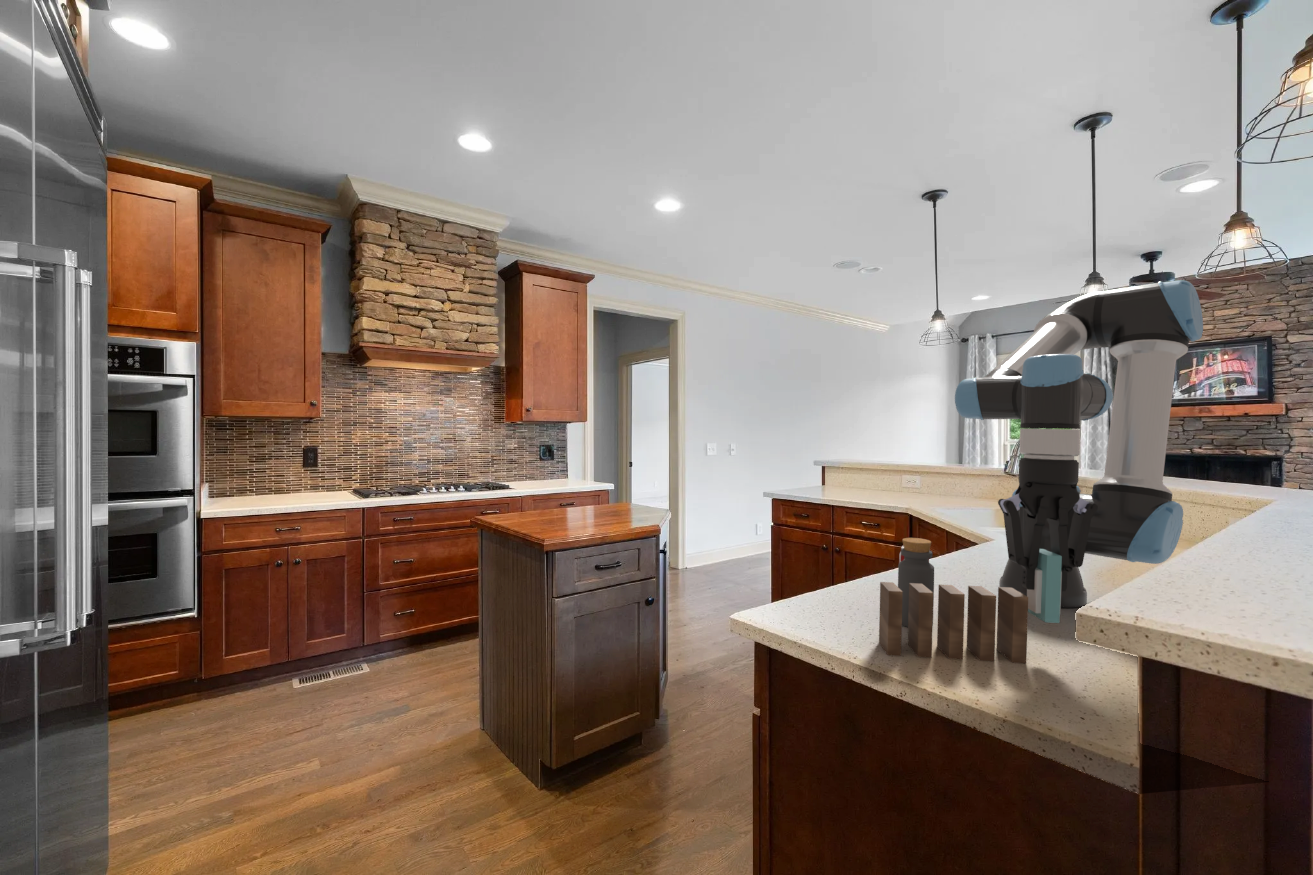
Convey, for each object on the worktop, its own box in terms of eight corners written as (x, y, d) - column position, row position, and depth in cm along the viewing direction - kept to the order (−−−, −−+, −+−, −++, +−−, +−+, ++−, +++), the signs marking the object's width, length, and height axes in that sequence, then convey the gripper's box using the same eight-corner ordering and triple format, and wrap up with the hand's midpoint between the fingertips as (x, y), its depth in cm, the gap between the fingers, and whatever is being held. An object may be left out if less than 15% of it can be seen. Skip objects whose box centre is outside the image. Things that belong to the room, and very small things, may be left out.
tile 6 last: (891, 643, 93) (893, 582, 93) (901, 655, 88) (902, 591, 88) (878, 642, 93) (880, 581, 93) (887, 655, 88) (888, 590, 88)
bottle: (891, 623, 102) (893, 540, 102) (905, 615, 106) (906, 535, 106) (925, 632, 98) (927, 545, 98) (938, 624, 102) (940, 540, 102)
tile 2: (1009, 649, 91) (1011, 587, 90) (1026, 663, 86) (1028, 597, 86) (996, 649, 91) (998, 587, 91) (1012, 662, 86) (1014, 596, 86)
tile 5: (920, 645, 92) (922, 583, 92) (931, 657, 87) (933, 592, 87) (907, 644, 93) (909, 583, 92) (918, 656, 88) (919, 592, 87)
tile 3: (979, 648, 91) (981, 586, 91) (994, 661, 86) (996, 595, 86) (966, 647, 92) (968, 585, 91) (980, 660, 87) (982, 595, 86)
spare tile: (1041, 612, 90) (1043, 548, 90) (1059, 623, 85) (1061, 556, 85) (1027, 611, 90) (1029, 548, 90) (1044, 622, 85) (1047, 555, 85)
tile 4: (950, 646, 92) (951, 584, 92) (962, 659, 87) (964, 594, 87) (937, 645, 92) (938, 584, 92) (948, 658, 87) (950, 593, 87)
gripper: (1086, 457, 90) (1081, 606, 90) (984, 454, 92) (980, 600, 92) (1119, 460, 82) (1113, 622, 83) (1007, 457, 84) (1002, 616, 85)
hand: (1043, 610), depth 88 cm, fingers closed on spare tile, 2 cm apart
